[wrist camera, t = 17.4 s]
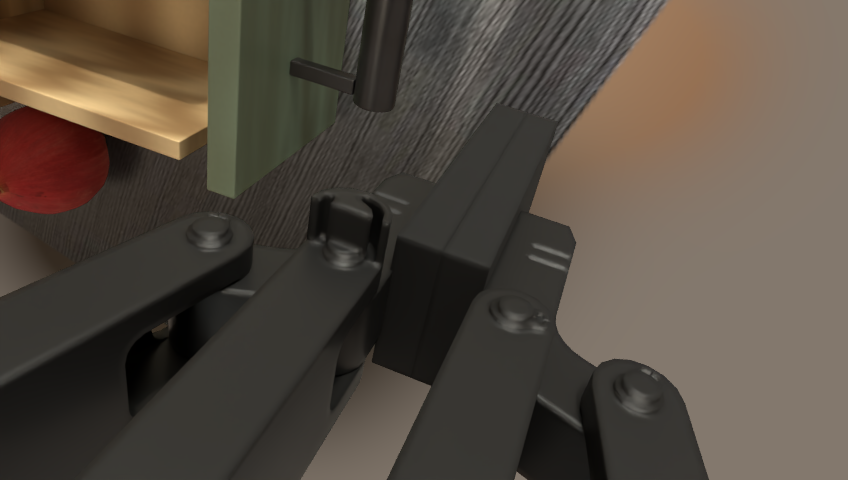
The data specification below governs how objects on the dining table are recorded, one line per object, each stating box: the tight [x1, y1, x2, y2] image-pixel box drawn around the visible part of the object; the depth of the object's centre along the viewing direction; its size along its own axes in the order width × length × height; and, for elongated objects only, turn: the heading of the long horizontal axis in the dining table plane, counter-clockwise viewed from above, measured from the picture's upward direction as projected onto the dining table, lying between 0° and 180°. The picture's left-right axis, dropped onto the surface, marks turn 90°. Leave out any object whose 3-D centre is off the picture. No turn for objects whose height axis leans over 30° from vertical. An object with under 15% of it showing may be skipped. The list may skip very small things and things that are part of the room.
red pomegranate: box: [0, 106, 110, 214], centre depth 35 cm, size 6×6×8 cm
